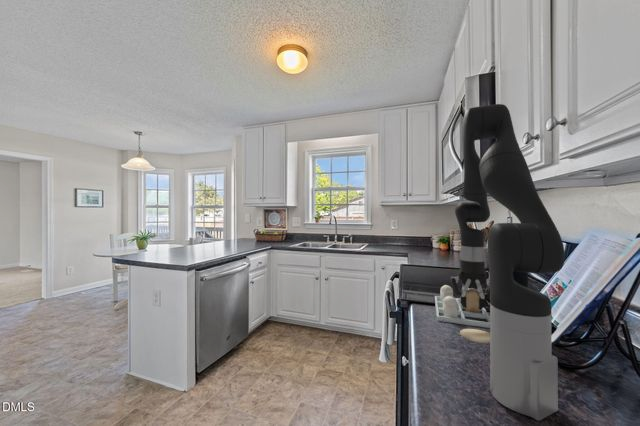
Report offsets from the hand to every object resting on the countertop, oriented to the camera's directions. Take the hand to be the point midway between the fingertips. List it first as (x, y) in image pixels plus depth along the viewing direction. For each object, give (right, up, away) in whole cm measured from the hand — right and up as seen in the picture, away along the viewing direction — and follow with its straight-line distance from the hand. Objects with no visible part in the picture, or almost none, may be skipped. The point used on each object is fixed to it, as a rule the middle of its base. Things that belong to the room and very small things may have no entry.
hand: (472, 307), depth 92 cm
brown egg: (0, -1, 0) cm, 1 cm away
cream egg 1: (-4, -2, +10) cm, 11 cm away
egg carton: (-4, -2, +1) cm, 5 cm away
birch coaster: (-8, -2, -17) cm, 19 cm away
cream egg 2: (-10, -2, -4) cm, 11 cm away
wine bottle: (+16, -3, 0) cm, 16 cm away
